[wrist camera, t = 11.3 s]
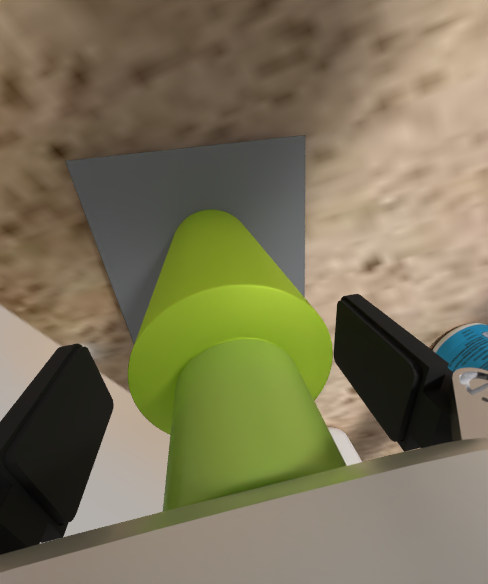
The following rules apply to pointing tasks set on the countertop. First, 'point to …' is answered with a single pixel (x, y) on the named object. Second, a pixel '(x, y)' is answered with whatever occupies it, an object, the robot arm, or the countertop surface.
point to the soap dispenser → (231, 366)
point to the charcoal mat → (190, 207)
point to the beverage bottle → (465, 347)
